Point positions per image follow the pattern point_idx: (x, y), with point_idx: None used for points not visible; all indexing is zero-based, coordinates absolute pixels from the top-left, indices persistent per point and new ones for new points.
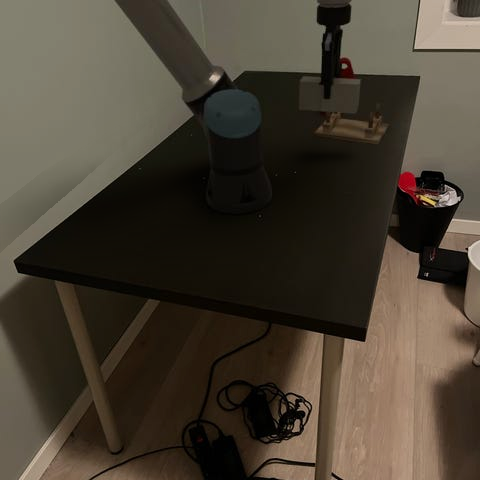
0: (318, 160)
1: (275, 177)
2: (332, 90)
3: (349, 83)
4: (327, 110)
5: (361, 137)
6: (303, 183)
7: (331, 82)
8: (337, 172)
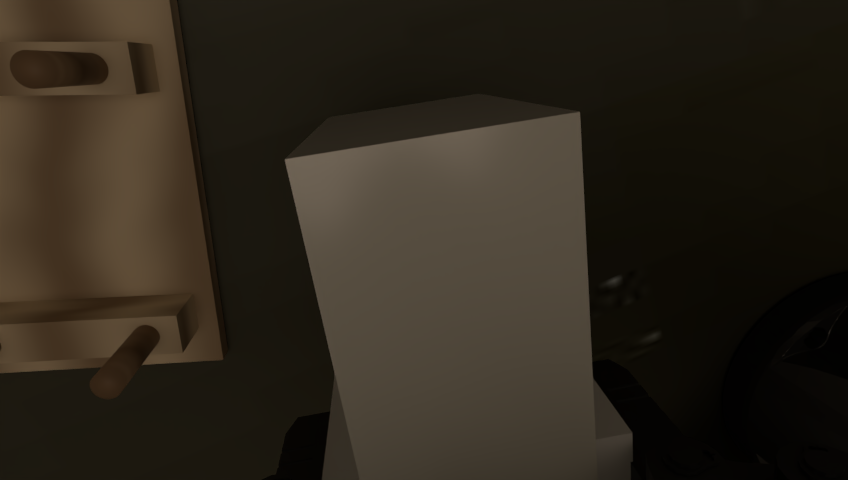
0: None
1: (669, 332)
2: (599, 398)
3: (557, 263)
4: None
5: (166, 109)
6: (697, 213)
7: (844, 469)
8: None
